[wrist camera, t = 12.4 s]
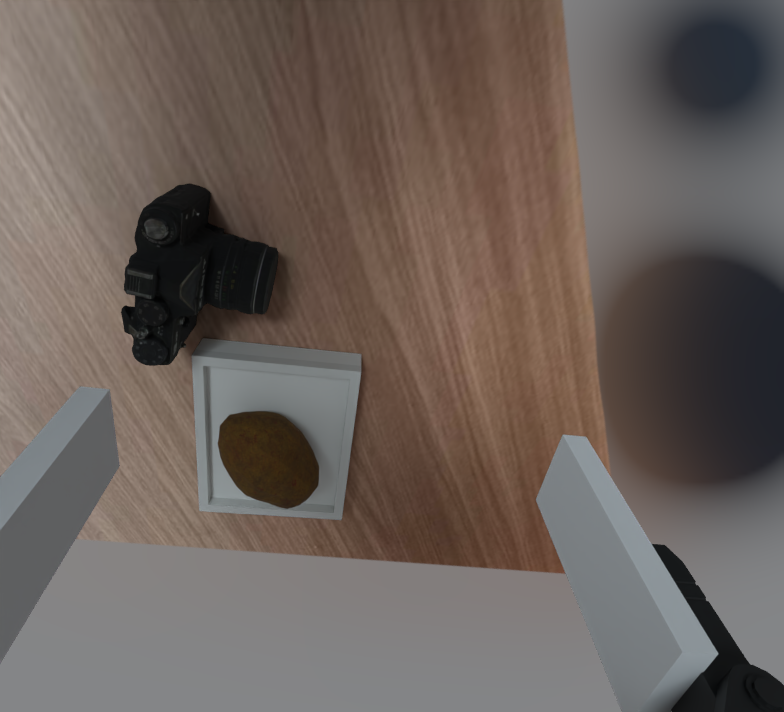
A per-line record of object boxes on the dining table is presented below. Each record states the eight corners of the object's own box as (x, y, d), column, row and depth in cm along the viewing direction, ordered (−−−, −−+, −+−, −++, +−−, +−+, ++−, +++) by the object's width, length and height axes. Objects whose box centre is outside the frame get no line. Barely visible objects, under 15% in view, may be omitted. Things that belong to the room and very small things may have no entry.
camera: (262, 344, 52) (242, 398, 43) (153, 317, 50) (109, 368, 41) (291, 211, 45) (274, 243, 37) (168, 175, 43) (119, 199, 35)
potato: (292, 488, 58) (282, 542, 51) (203, 425, 53) (179, 475, 46) (342, 448, 55) (339, 500, 48) (254, 378, 50) (237, 425, 44)
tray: (202, 337, 51) (191, 355, 48) (361, 353, 53) (361, 371, 49) (208, 487, 60) (199, 510, 57) (342, 496, 62) (341, 519, 59)
